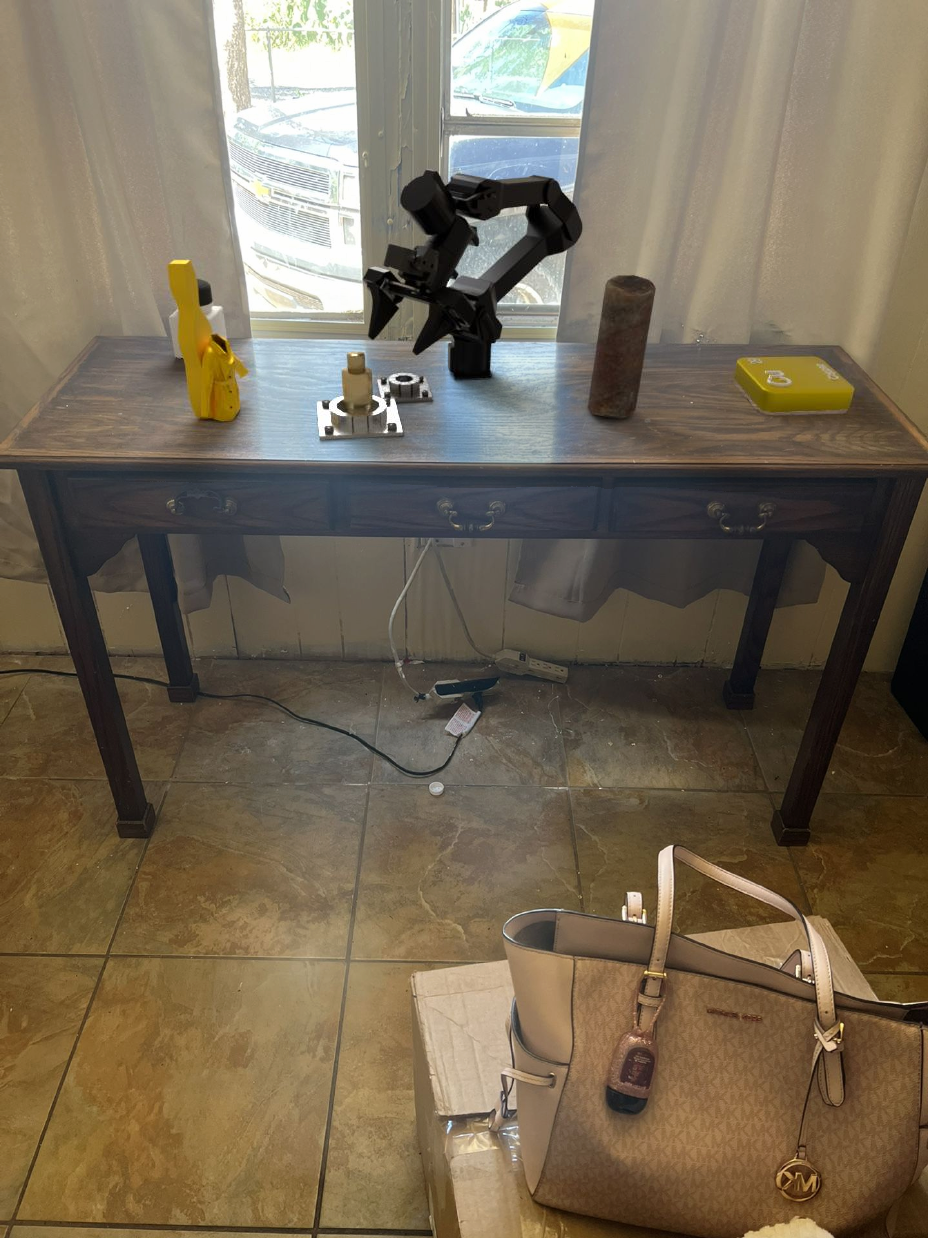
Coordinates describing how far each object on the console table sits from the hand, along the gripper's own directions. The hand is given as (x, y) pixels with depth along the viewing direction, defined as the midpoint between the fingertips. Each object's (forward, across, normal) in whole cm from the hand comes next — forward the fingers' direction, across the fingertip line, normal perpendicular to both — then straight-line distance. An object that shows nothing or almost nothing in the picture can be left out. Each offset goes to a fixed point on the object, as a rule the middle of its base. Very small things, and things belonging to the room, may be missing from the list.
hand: (392, 345), depth 132 cm
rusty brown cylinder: (-8, +27, +22) cm, 35 cm away
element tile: (-26, +44, +41) cm, 65 cm away
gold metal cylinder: (+12, 0, +1) cm, 12 cm away
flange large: (+12, 0, +1) cm, 12 cm away
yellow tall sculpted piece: (+21, -17, -8) cm, 28 cm away
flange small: (+3, -2, +10) cm, 11 cm away
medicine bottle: (+12, -40, +2) cm, 42 cm away
